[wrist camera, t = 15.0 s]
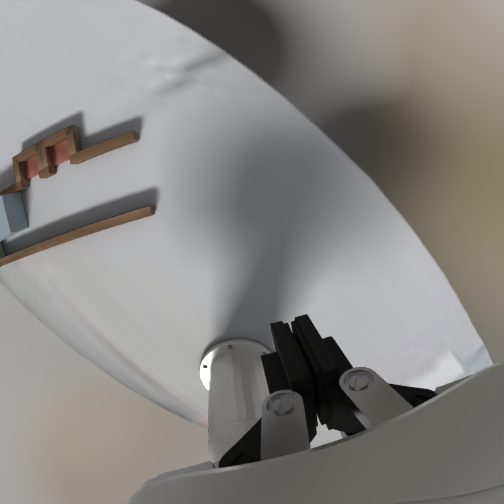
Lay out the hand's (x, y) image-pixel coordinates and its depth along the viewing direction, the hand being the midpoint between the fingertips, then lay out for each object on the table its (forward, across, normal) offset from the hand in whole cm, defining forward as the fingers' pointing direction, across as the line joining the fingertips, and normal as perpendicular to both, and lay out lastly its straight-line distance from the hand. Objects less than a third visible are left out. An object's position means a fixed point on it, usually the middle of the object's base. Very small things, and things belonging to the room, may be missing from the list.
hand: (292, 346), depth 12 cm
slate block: (+27, +37, -12) cm, 48 cm away
